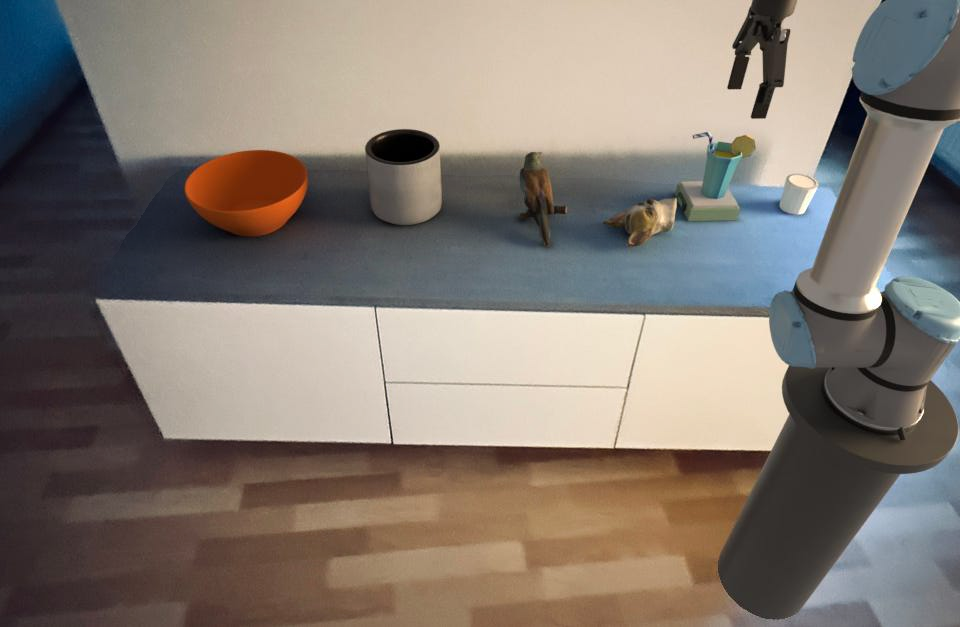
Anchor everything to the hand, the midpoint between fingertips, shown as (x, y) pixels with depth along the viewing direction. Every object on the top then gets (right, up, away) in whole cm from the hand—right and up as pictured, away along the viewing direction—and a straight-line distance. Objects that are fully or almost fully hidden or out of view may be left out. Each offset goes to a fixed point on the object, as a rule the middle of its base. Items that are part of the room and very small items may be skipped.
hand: (745, 102), depth 135 cm
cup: (-2, -15, +17) cm, 23 cm away
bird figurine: (-39, -22, +15) cm, 47 cm away
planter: (-70, -18, +18) cm, 74 cm away
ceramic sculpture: (-18, -25, +11) cm, 33 cm away
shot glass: (+18, -18, +20) cm, 32 cm away
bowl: (-102, -21, +14) cm, 106 cm away
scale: (-2, -18, +19) cm, 26 cm away
